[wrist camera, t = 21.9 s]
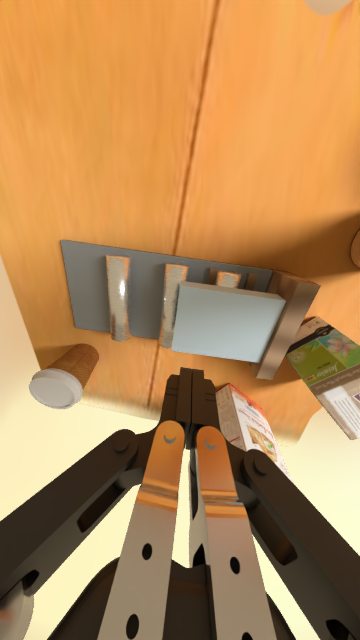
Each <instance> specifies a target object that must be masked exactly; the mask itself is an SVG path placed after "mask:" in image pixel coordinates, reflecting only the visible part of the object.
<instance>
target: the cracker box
mask: <svg viewBox="0 0 360 640" xmlns="http://www.w3.org/2000/svg"><path fill="white" fill-rule="evenodd" d="M216 400H217V407H218V415H219V423H220V429H221V432H222V434H223V435H224V437H225V438H226V439H227V440H228V441H229V442H230V443H231V444H233V445H234V446H236V447H238V448H240V449H242V450H244V451H246V452H247V451H248V450H250V449H258V450H260V451H262V452H264V453H265V454H267V455H268V456H269V457H270V459H271V460H272V461H273V462H274V463H275V464H276V465H277V466H278V467H279V468H280V469H281V471H282V472H283V473H284V474H285V475H286V476H287V477H288V478H289V479H290V480H291V477H290V475H289V473H288V470H287V468H286V466H285V463H284V460H283V458H282V455H281V453H280V451H279V448H278V446H277V443H276V441H275V439H274V436H273V434H272V431H271V429H270V427H269V424H268V422H267V419H266V417H265V415H264V412H263V410H262V408H260V407H259V406H258V405H257V404H255V403H254V402H253V401H251V400H250V399H249V398H247V397H246V396H245V395H244V394H242V393H241V392H240V391H238V390H237V389H236V388H235V387H233V386H232V385H231V384H227V385H226V386H224V387H223V388H221V389H220V390H219V391H217V392H216ZM291 482H292V480H291ZM292 483H293V482H292Z"/></svg>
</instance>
